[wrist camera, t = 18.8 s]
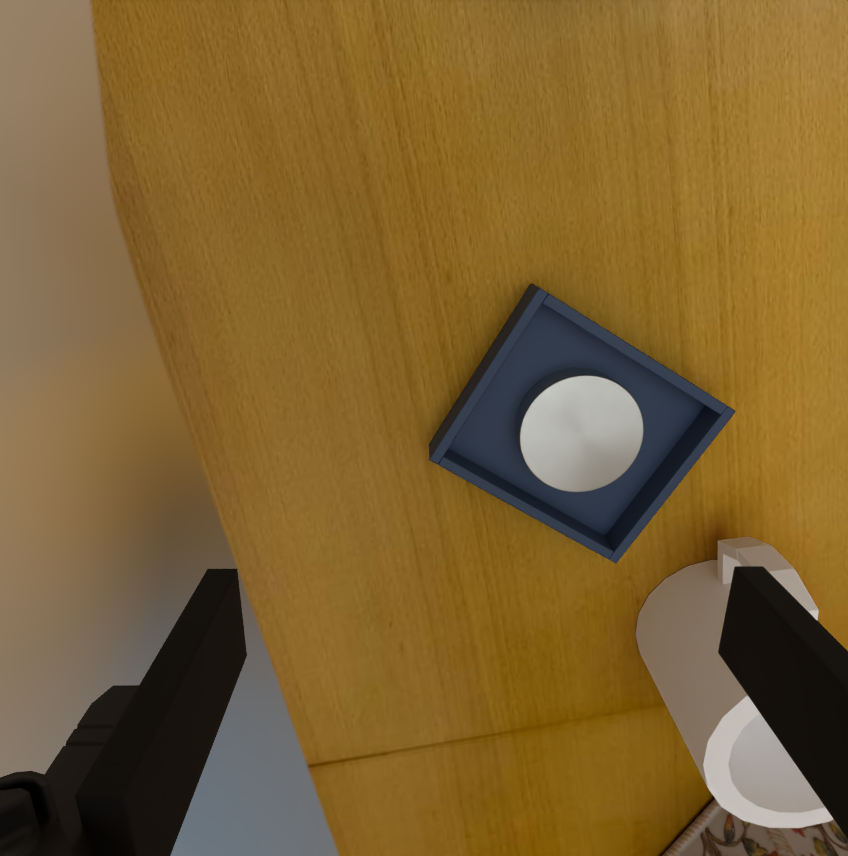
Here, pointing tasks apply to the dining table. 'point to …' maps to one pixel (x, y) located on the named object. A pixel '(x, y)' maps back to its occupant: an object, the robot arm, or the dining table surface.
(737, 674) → the robot arm
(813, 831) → the decorative jar
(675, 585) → the mug
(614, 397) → the lid
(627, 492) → the tray
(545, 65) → the dining table surface
